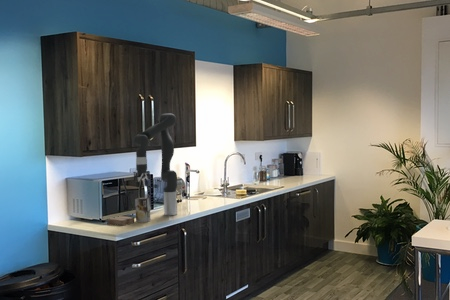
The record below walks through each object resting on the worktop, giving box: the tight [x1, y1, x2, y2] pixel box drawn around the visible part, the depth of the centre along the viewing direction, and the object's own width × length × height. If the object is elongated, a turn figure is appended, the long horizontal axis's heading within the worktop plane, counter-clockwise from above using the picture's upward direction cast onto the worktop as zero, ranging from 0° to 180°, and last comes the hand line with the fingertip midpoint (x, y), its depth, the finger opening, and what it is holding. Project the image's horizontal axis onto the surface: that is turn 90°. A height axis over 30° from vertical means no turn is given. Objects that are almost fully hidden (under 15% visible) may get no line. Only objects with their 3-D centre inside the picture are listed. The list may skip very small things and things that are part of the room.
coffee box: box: [134, 197, 152, 223], centre depth 345 cm, size 9×6×16 cm
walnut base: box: [106, 215, 135, 227], centre depth 339 cm, size 12×14×4 cm
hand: (142, 186), depth 344 cm, fingers open, 8 cm apart
